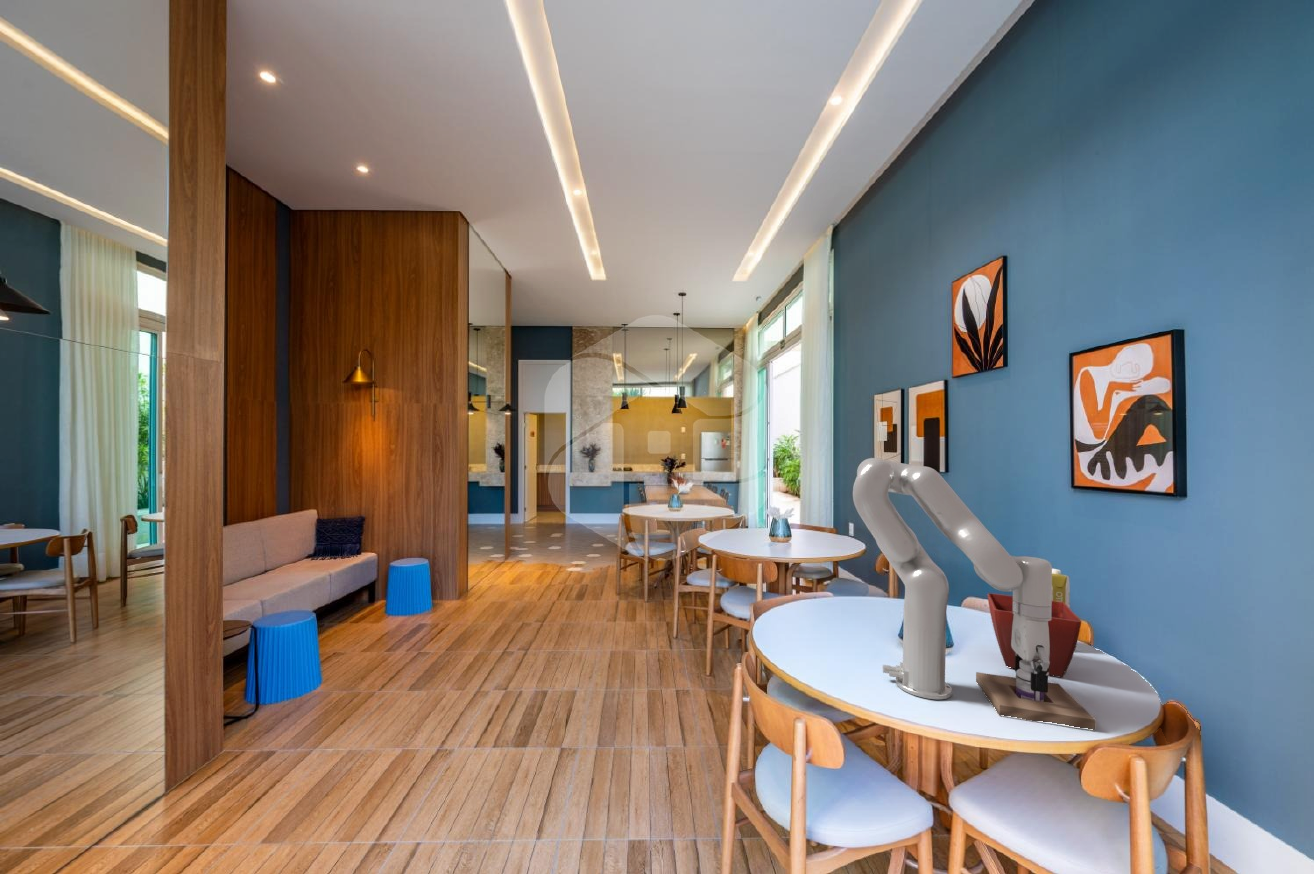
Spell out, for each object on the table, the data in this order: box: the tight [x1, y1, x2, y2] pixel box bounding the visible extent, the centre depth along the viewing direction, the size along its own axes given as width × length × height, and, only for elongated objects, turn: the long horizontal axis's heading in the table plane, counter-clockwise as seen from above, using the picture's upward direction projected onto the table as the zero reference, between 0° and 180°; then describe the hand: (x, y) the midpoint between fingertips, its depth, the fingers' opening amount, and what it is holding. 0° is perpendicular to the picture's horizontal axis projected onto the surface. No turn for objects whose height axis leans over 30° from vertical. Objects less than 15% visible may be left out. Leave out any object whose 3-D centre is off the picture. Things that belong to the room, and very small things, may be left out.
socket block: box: [975, 671, 1097, 732], centre depth 122 cm, size 18×18×2 cm
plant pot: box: [987, 592, 1082, 678], centre depth 145 cm, size 19×19×17 cm
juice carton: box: [1052, 567, 1071, 608], centre depth 160 cm, size 9×8×24 cm
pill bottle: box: [1015, 660, 1044, 702], centre depth 122 cm, size 5×5×10 cm
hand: (1030, 681), depth 122 cm, fingers open, 9 cm apart
